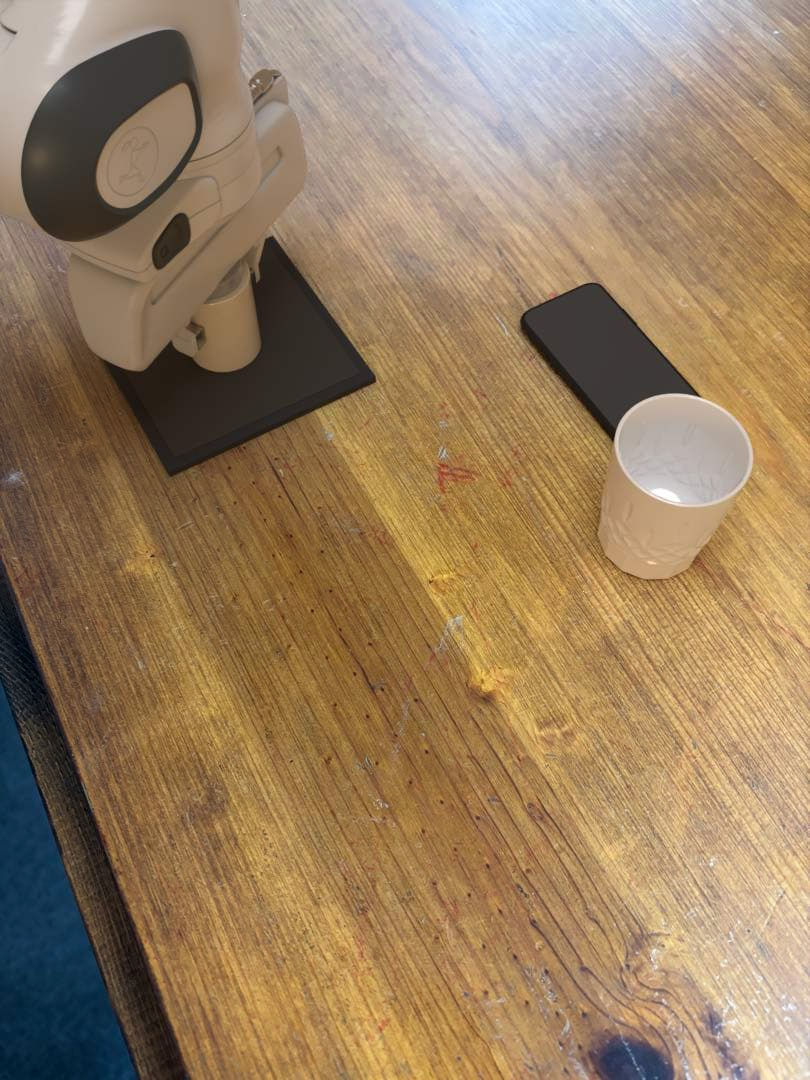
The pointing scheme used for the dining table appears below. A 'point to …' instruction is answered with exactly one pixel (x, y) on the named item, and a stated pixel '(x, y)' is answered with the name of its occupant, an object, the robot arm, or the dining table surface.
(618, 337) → the smartphone
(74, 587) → the dining table surface
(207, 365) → the salt shaker
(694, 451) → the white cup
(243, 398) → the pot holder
